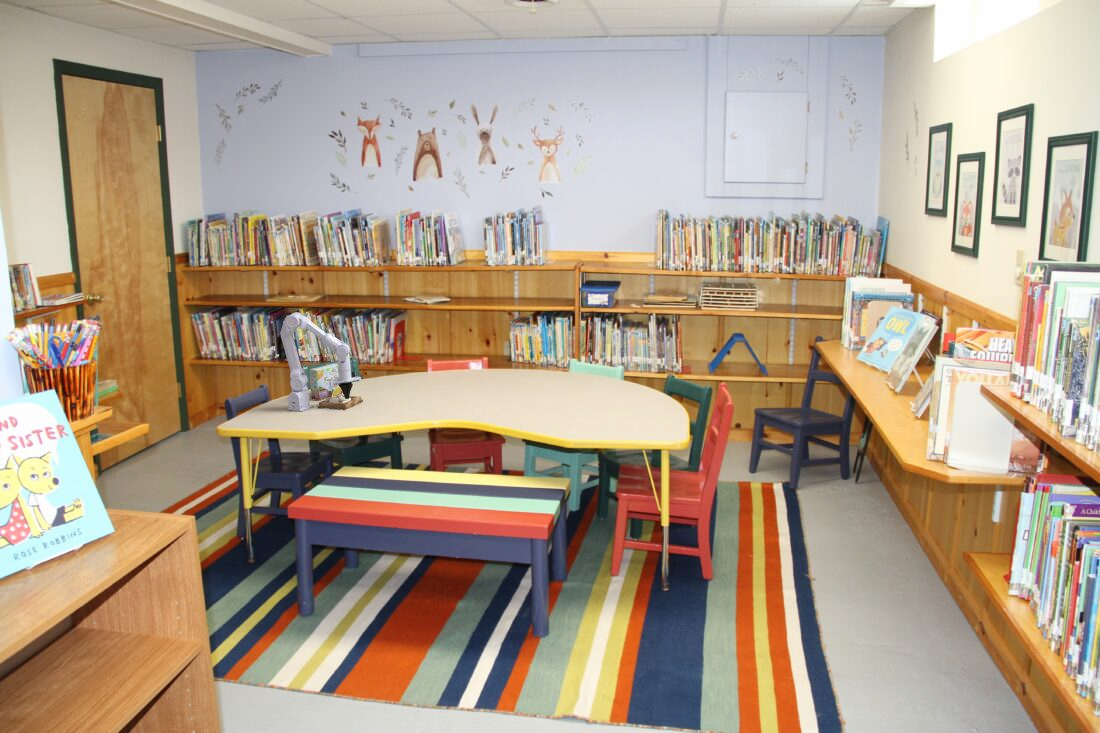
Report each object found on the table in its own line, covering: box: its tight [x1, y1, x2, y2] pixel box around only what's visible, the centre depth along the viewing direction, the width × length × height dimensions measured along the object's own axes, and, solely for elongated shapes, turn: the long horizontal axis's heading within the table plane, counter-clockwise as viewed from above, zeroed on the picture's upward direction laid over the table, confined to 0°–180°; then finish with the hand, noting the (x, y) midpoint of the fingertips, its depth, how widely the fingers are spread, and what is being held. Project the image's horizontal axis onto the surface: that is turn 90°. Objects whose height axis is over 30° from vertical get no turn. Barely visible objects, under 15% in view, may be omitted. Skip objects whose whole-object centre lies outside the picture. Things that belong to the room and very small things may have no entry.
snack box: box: [308, 362, 343, 401], centre depth 425 cm, size 21×6×15 cm, turn 146°
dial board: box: [316, 395, 364, 411], centre depth 406 cm, size 15×15×3 cm
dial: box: [329, 394, 351, 403], centre depth 406 cm, size 10×10×4 cm
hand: (347, 398), depth 403 cm, fingers closed
